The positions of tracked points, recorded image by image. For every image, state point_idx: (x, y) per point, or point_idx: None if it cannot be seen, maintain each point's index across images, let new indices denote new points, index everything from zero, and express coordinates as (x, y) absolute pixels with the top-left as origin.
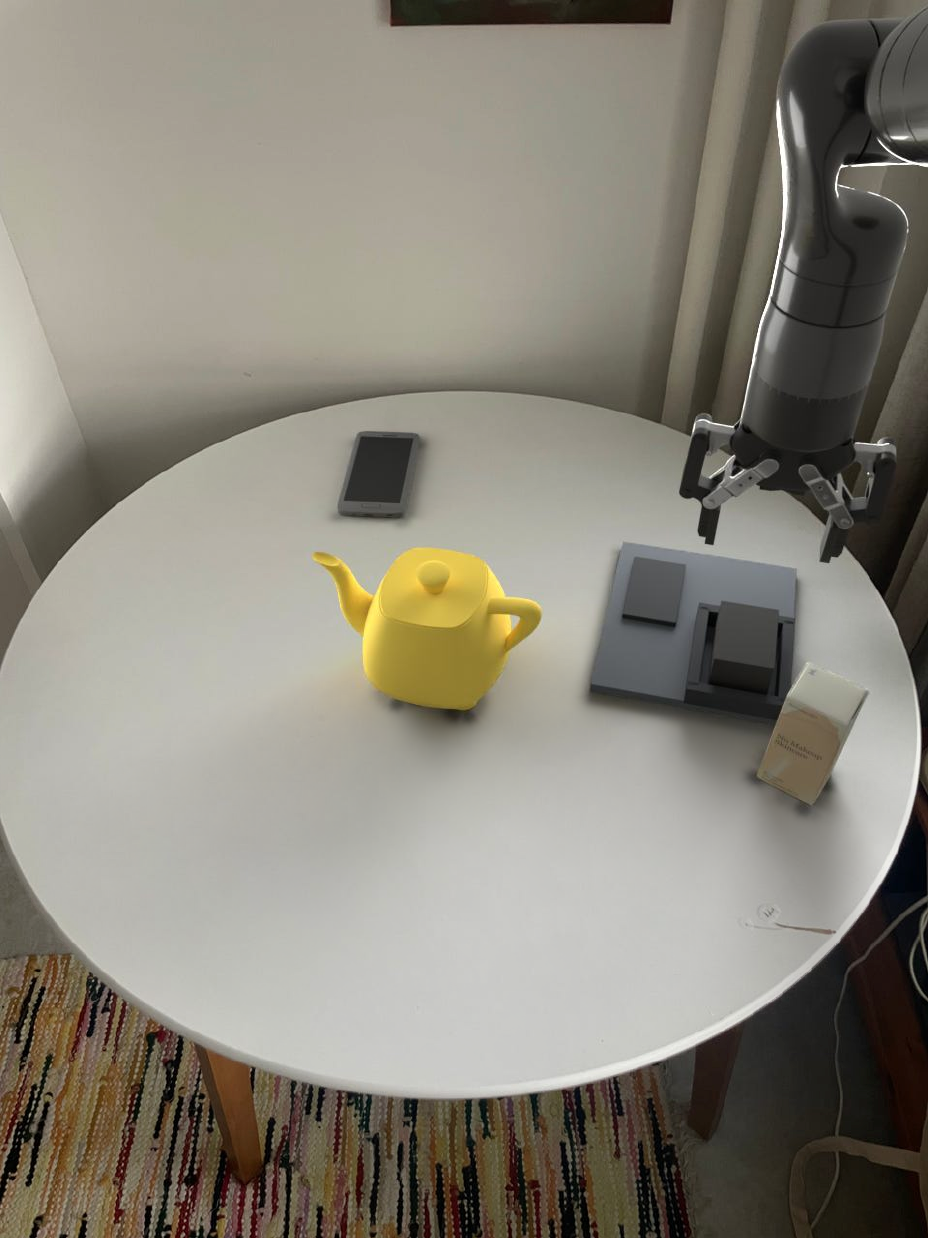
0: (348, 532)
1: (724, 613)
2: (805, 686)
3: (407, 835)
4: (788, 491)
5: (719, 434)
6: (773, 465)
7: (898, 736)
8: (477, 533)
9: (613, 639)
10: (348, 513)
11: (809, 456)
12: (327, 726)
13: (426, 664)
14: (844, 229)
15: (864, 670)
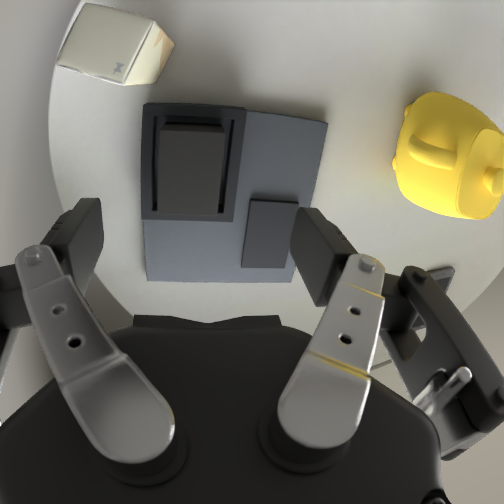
0: (451, 254)
1: (214, 198)
2: (129, 40)
3: (433, 10)
4: (186, 322)
5: (456, 435)
6: (309, 419)
7: (56, 122)
8: (387, 270)
9: (306, 176)
10: (450, 268)
11: (142, 482)
12: (475, 99)
13: (476, 109)
14: None
15: (83, 186)
